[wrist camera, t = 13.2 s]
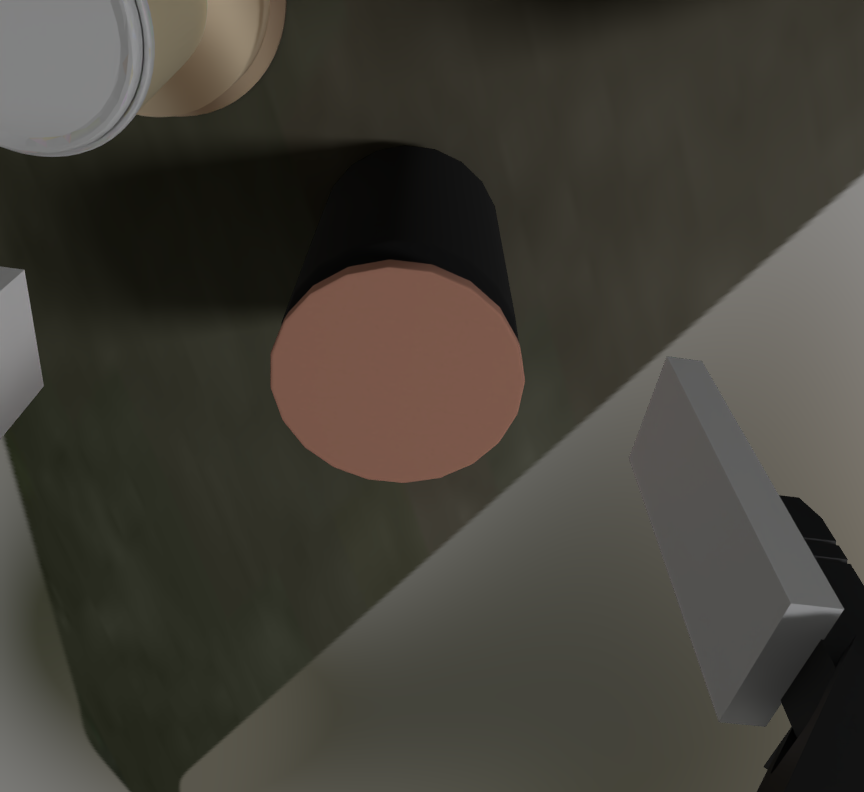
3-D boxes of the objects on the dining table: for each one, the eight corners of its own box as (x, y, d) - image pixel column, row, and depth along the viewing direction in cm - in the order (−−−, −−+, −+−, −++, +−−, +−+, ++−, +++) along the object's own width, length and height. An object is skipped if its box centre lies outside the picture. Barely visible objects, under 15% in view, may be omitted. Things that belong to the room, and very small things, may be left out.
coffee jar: (287, 213, 46) (213, 366, 31) (425, 100, 42) (417, 211, 27) (398, 334, 50) (381, 519, 35) (531, 242, 46) (575, 405, 31)
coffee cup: (0, -136, 33) (-193, -153, 23) (214, -124, 33) (117, -136, 23) (51, 89, 38) (-89, 156, 28) (235, 98, 38) (163, 168, 28)
